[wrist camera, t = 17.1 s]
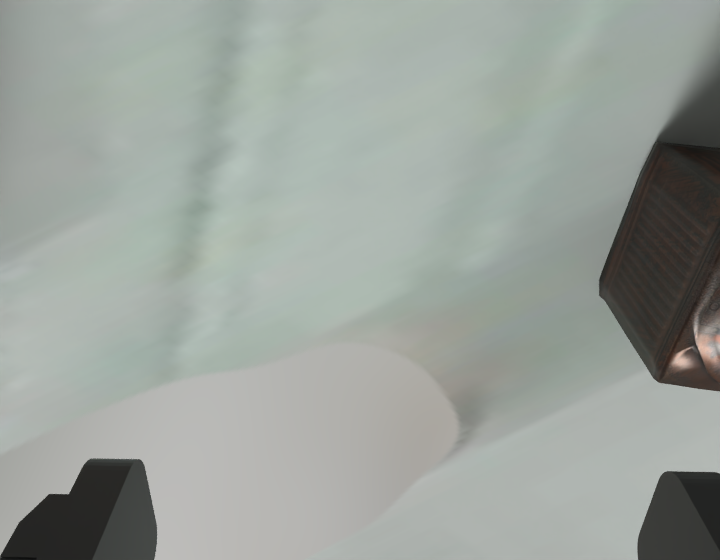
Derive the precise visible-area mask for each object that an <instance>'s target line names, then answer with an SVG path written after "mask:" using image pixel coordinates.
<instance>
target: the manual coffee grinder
mask: <svg viewBox="0 0 720 560" xmlns="http://www.w3.org/2000/svg"><path fill="white" fill-rule="evenodd" d="M599 295H600V297H601V298H603V299H604V300H605V302H606V303H607V305H608V306H609V308H610V310H611V311H612V313H613V314H614V316H615V318H616V319H617V321H618V323H619V324H620V326H621V327H622V329H623V331H624V332H625V334H626V335H627V337H628V339H629V340H630V342H631V343H632V345H633V347H634V348H635V350H636V351H637V353H638V354H639V356H640V358H641V359H642V361H643V362H644V364H645V365H646V367H647V369H648V370H649V372H650V373H651V375H652V377H653V378H654V379H655V380H656V381H657V382H659V383H665V384H672V385H678V386H685V387H691V388H698V389H705V390H713V391H720V148H711V147H701V146H691V145H681V144H671V143H662V142H656V143H655V145H654V147H653V149H652V151H651V153H650V155H649V157H648V159H647V161H646V163H645V165H644V167H643V169H642V171H641V173H640V176H639V178H638V181H637V183H636V186H635V188H634V191H633V194H632V196H631V199H630V201H629V204H628V206H627V209H626V212H625V214H624V217H623V219H622V222H621V224H620V227H619V229H618V232H617V235H616V237H615V240H614V242H613V245H612V248H611V250H610V253H609V255H608V258H607V261H606V263H605V266H604V269H603V272H602V274H601V277H600V280H599Z"/></svg>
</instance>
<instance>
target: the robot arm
mask: <svg viewBox="0 0 720 560" xmlns="http://www.w3.org/2000/svg"><path fill="white" fill-rule="evenodd" d="M156 544H157V525H156V520H155V515H154V510H153V505H152V500H151V495H150V490H149V485H148V481H147V476H146V471H145V467H144V464H143V462H142V461H141V460H139V459H138V460H137V459H90V460H88V461H87V462H86V463H85V464H84V466H83V468H82V469H81V472H80V473H79V475H78V477H77V479H76V481H75V484H74V485H73V487H72V489H71V491H70V493H69V494H68V495H67V494H49V495H48V496H47V497H46V498H45V499H44V500H43V501H42V502H41V503H39V505H37V506H36V507H35V508H34V509H33V510H32V511H31V512H30V513H29V514H28V515H27V516H26V517H25V518H24V519H23V520H22V521H20V522H19V524H18V526H17V528H16V529H15V531H14V533H13V535H12V536H11V538H10V540H9V542H8V543H7V545H6V547H5V549H4V551H3V552H2V554H1V556H0V560H154V557H155V552H156ZM638 560H720V474H719V473H716V472H673V471H667V472H664V473H663V474H662V475H661V477H660V479H659V481H658V484H657V487H656V489H655V492H654V495H653V498H652V500H651V503H650V506H649V509H648V511H647V514H646V517H645V520H644V522H643V525H642V528H641V531H640V534H639V537H638Z"/></svg>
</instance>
